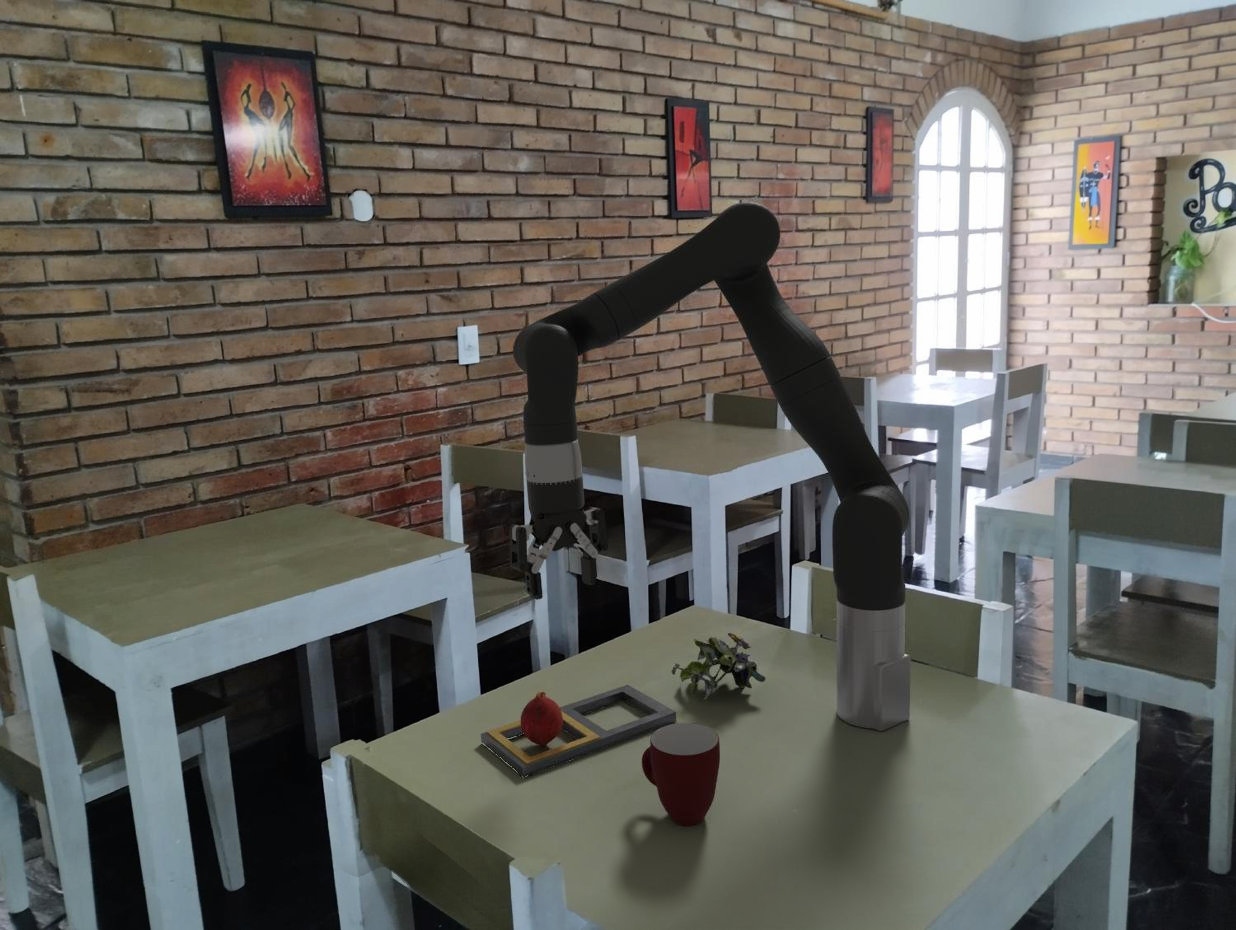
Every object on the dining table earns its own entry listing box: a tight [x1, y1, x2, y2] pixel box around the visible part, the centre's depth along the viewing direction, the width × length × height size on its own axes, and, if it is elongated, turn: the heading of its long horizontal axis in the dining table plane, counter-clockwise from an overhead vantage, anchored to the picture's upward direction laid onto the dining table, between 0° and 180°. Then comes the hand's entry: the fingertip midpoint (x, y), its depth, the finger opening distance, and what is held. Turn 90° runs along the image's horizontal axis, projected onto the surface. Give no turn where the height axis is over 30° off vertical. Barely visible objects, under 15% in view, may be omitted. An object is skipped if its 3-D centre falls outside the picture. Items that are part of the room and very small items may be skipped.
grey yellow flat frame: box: [480, 684, 677, 777], centre depth 136 cm, size 12×25×2 cm, turn 125°
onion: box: [520, 689, 563, 747], centre depth 132 cm, size 6×6×8 cm
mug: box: [641, 722, 721, 826], centre depth 114 cm, size 11×8×10 cm
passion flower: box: [671, 632, 766, 704], centre depth 145 cm, size 11×11×12 cm
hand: (563, 590), depth 131 cm, fingers open, 8 cm apart
